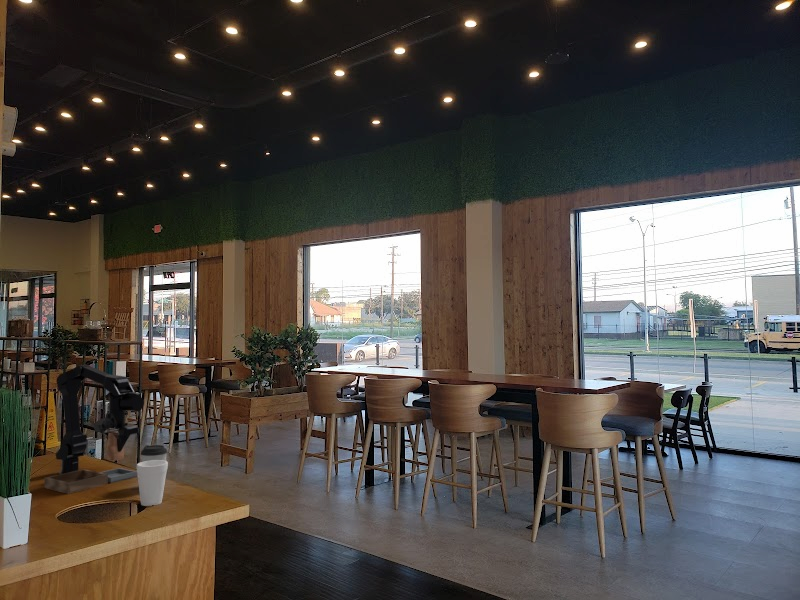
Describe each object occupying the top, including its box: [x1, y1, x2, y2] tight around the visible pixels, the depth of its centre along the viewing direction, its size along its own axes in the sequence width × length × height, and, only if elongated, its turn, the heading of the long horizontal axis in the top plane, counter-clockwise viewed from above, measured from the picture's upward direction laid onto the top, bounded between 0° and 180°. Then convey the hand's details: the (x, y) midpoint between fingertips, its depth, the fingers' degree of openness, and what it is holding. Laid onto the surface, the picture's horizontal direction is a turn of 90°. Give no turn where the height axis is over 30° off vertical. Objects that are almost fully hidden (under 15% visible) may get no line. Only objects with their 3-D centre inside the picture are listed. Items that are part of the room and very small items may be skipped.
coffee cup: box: [140, 444, 168, 462], centre depth 211 cm, size 9×9×15 cm
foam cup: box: [136, 460, 169, 507], centre depth 193 cm, size 10×9×13 cm
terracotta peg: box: [107, 431, 125, 462], centre depth 222 cm, size 4×4×10 cm
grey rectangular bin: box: [99, 467, 138, 484], centre depth 222 cm, size 11×11×2 cm
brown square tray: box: [43, 468, 108, 495], centre depth 210 cm, size 15×15×4 cm
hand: (115, 451), depth 222 cm, fingers closed on terracotta peg, 4 cm apart
